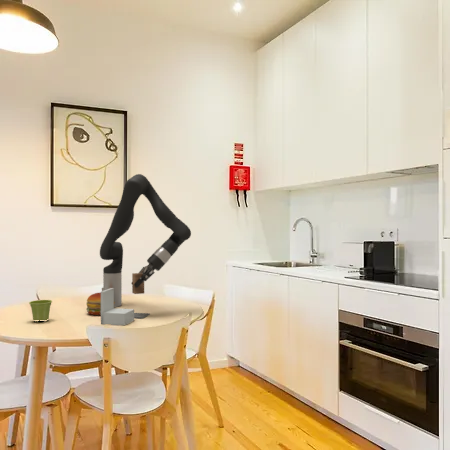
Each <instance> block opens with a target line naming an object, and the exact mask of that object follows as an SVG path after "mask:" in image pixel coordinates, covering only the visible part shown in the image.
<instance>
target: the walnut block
mask: <svg viewBox="0 0 450 450" xmlns="http://www.w3.org/2000/svg"><path fill="white" fill-rule="evenodd" d="M141 276H142V273H139V272H136V273H134V272H133V273H132V274H131V278H132V281H131V283H132V284H131V286H132V288H131V289H132V291H131V292H132V294H134V295H141V294H145V281H144V282H142V283H141V284H140V286H139V287H138V288H137V287H135V286H134V283H135V282H136V281H137V280H138V279H140V277H141Z"/></svg>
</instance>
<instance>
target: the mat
mask: <svg viewBox="0 0 450 450" xmlns="http://www.w3.org/2000/svg"><path fill="white" fill-rule="evenodd" d="M150 315H151V313H150V312H149V313H147V312H134V319H145V318H147V317H148V316H150Z"/></svg>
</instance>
